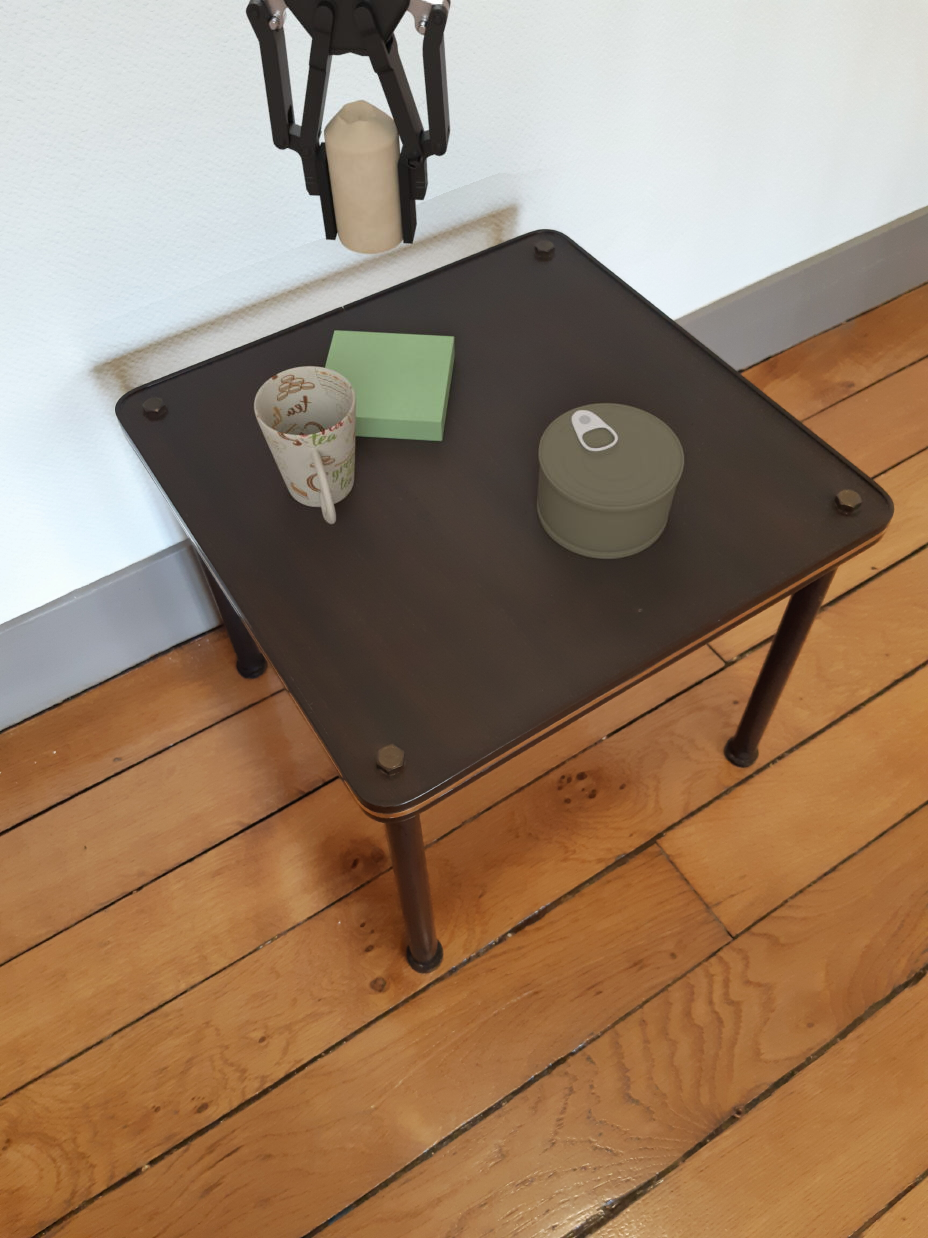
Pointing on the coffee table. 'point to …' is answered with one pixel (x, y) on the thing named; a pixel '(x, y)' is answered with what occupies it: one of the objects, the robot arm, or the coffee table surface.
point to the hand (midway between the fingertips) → (371, 230)
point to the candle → (365, 177)
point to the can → (607, 479)
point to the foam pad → (396, 381)
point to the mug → (311, 433)
